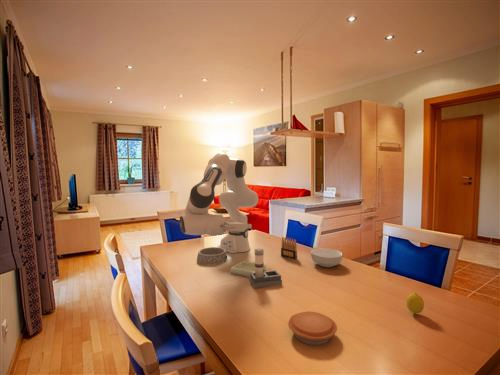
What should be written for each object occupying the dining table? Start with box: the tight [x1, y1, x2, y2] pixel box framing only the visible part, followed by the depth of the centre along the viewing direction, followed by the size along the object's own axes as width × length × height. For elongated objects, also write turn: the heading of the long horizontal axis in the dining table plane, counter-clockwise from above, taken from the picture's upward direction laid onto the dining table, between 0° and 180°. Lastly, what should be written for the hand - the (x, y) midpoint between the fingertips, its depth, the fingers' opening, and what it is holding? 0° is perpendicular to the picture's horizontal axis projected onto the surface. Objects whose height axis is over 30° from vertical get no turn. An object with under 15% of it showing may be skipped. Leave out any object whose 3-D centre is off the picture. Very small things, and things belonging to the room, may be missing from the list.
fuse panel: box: [249, 269, 283, 289], centre depth 133 cm, size 13×9×4 cm
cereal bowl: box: [310, 247, 343, 268], centre depth 155 cm, size 17×17×7 cm
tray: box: [230, 260, 266, 278], centre depth 147 cm, size 14×12×3 cm
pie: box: [287, 311, 338, 346], centre depth 92 cm, size 16×16×5 cm
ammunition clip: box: [280, 236, 298, 260], centre depth 168 cm, size 11×2×12 cm, turn 47°
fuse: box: [254, 248, 265, 278], centre depth 132 cm, size 4×4×14 cm
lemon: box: [406, 292, 425, 315], centre depth 103 cm, size 6×6×8 cm
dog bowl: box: [196, 246, 228, 265], centre depth 167 cm, size 17×18×5 cm
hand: (246, 225), depth 129 cm, fingers open, 8 cm apart
